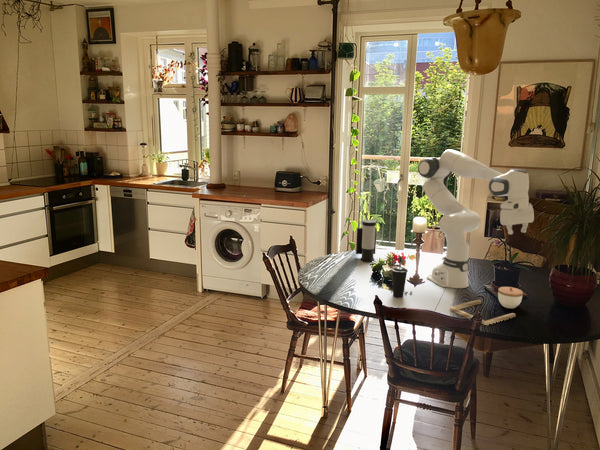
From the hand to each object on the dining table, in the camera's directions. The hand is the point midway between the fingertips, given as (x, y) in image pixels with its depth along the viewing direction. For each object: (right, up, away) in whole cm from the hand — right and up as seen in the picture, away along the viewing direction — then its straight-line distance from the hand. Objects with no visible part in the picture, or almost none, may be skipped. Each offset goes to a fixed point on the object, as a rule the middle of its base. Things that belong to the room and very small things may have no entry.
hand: (517, 233), depth 231 cm
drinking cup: (-54, -31, +12) cm, 63 cm away
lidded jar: (-3, -35, +2) cm, 35 cm away
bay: (-20, -36, -8) cm, 42 cm away
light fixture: (-61, -18, +71) cm, 95 cm away
